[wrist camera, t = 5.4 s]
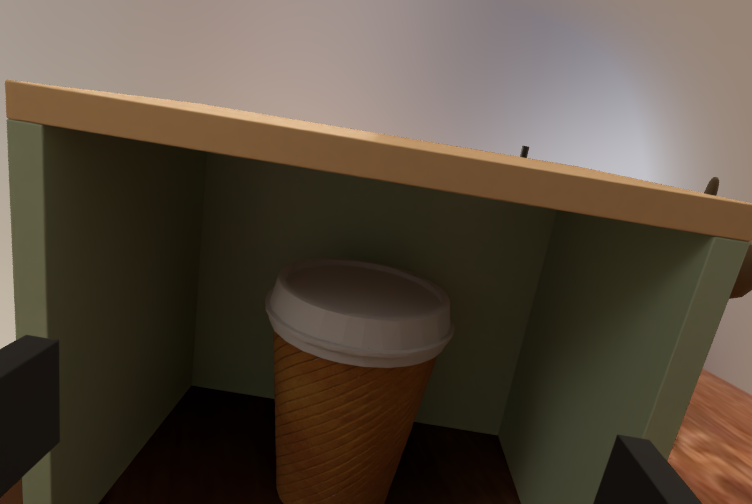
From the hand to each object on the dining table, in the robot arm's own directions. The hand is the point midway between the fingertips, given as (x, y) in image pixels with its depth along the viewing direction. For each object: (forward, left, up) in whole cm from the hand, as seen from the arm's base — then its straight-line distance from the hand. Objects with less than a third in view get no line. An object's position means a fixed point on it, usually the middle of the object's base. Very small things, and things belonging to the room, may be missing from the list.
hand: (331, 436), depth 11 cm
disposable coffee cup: (+12, -2, -13) cm, 18 cm away
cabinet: (+13, -2, -12) cm, 18 cm away
